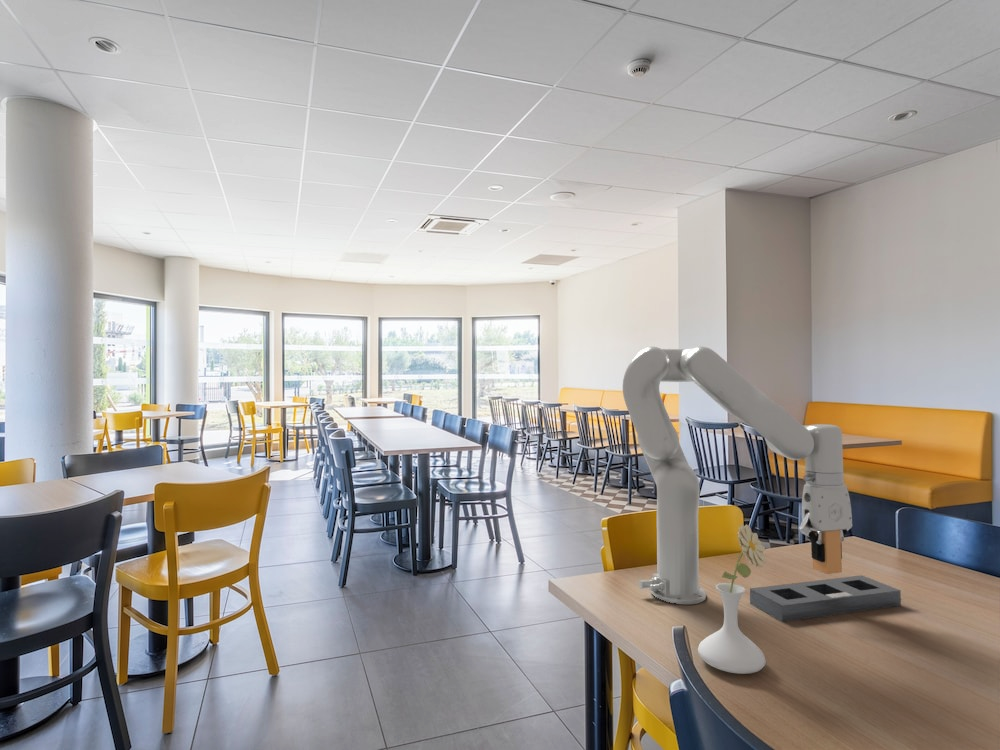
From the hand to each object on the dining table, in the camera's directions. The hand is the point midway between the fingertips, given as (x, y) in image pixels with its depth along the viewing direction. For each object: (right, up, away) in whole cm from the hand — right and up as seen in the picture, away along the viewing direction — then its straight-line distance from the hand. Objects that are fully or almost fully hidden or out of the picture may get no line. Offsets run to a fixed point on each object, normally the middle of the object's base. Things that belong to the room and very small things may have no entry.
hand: (826, 558), depth 127 cm
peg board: (0, -11, 0) cm, 11 cm away
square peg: (0, -3, 0) cm, 3 cm away
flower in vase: (-32, -11, -26) cm, 42 cm away
